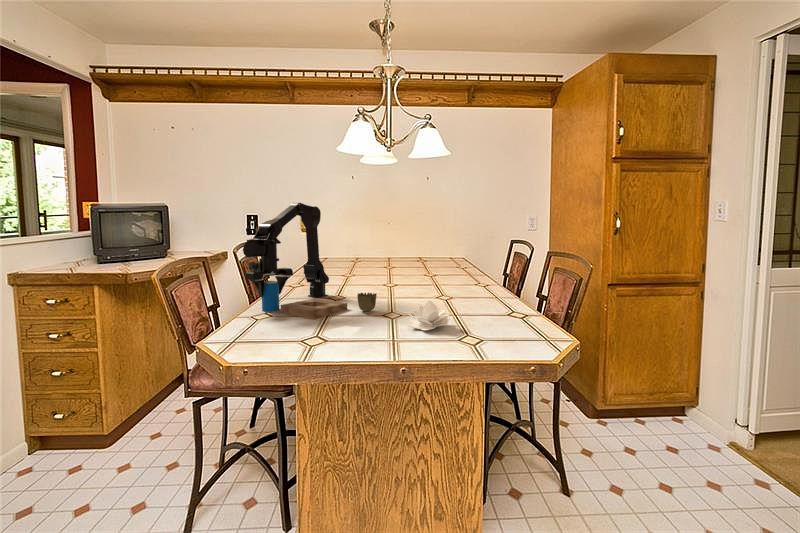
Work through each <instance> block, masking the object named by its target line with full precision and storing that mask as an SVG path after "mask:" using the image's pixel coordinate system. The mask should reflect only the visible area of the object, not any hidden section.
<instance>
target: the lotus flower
mask: <svg viewBox="0 0 800 533" xmlns="http://www.w3.org/2000/svg"><path fill="white" fill-rule="evenodd" d="M416 307H417V310H416V309H414V308H413V309H412V313H413V314H414V316H413V315H412V314H411V313H408V315H409V316H410V317H412V318H410V319H409V321H410V322H411V323H408V324H407V326H408V327H410V328H412V329H413V328H414V329H418V330H421V331H430V330H433V329H436V328H437V327H441V326H444V325H445V326H446V325H448V324H449V322H450V318H449V316H450V314H444V313H445V311H446V308H445V309H443V310H440V307H439V306H438V305H436V304H435V303H434V302H432V301H431V300H428V301H427V302H426V303H425V304H424V306H423V305H419V306H418V305H416Z"/></svg>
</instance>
